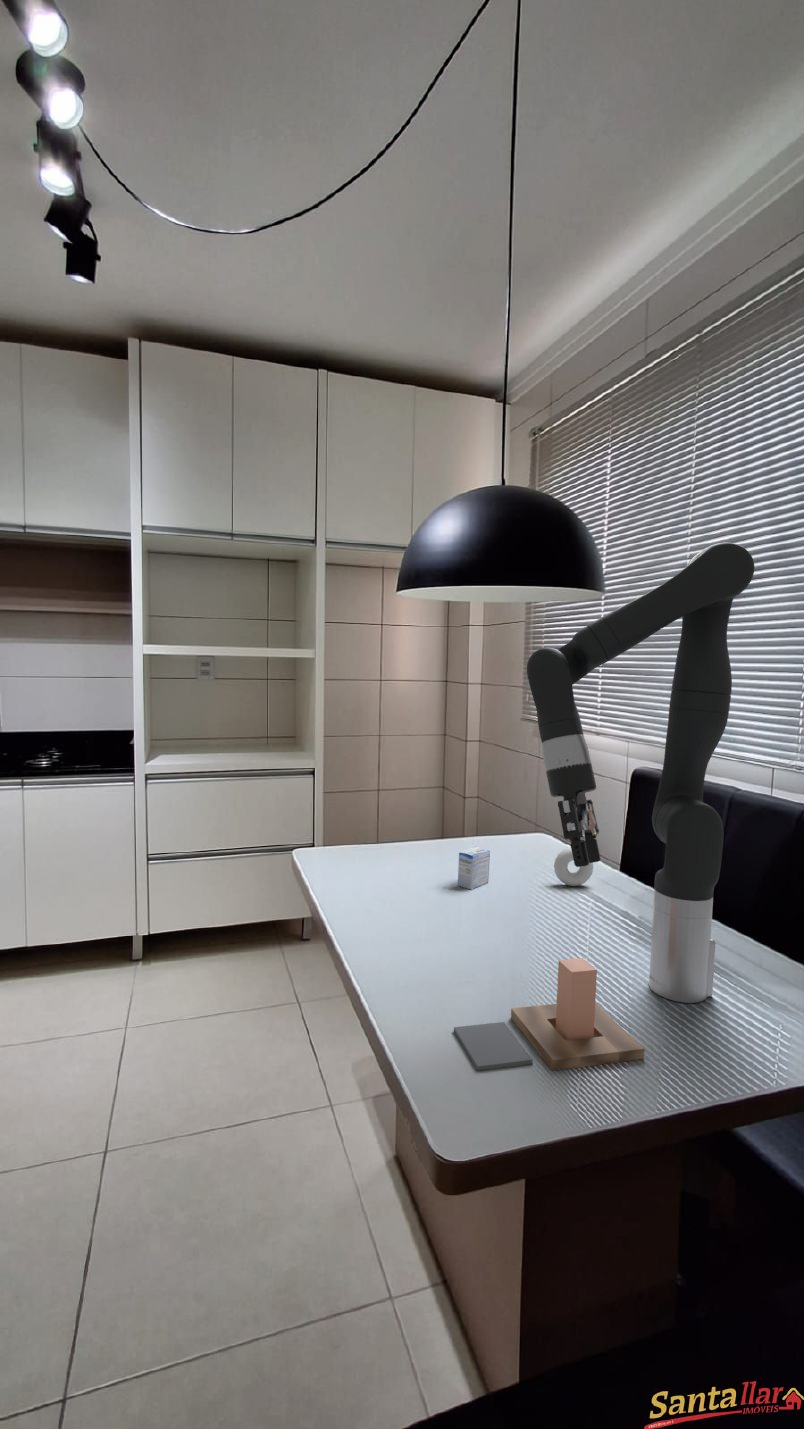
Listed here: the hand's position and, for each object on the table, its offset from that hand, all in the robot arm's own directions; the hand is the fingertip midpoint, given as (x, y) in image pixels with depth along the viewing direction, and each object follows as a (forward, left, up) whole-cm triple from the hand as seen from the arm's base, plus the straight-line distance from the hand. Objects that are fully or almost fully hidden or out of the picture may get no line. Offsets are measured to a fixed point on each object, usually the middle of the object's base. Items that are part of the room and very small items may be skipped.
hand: (588, 864), depth 108 cm
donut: (-28, -55, -23) cm, 66 cm away
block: (+7, +10, -23) cm, 26 cm away
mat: (+20, +10, -23) cm, 32 cm away
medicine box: (-3, -60, -23) cm, 65 cm away
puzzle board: (+7, +10, -23) cm, 26 cm away
